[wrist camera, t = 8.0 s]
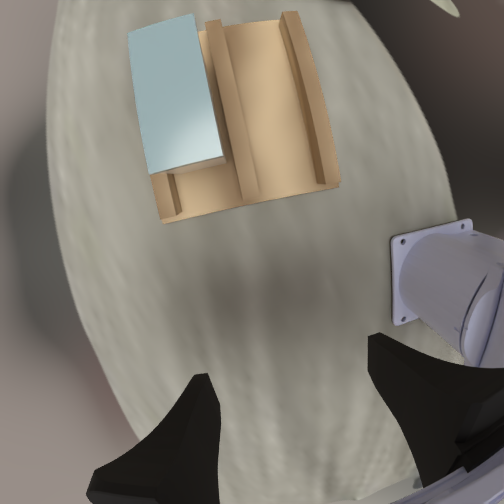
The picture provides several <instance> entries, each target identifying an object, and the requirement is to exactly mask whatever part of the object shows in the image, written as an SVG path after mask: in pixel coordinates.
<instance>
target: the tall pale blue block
mask: <svg viewBox="0 0 504 504" xmlns="http://www.w3.org/2000/svg"><path fill="white" fill-rule="evenodd" d="M127 34H128V45H129V55H130V63H131V72H132V80H133V87H134V94H135V101H136V107H137V113H138V119H139V125H140V131H141V136H142V142H143V147H144V152H145V157H146V162H147V167H148V172H149V175H155V174H158V173H165V174H184V173H188V172H192V171H196V170H200V169H204V168H209V167H213V166H217V165H222V164H226V163H227V161H226V156H225V152H224V147H223V142H222V138H221V133H220V128H219V123H218V119H217V114H216V109H215V104H214V100H213V95H212V90H211V85H210V81H209V76H208V71H207V66H206V63H205V59H204V55H203V51H202V48H201V44H200V40H199V36H198V31H197V26H196V21H195V17H194V13H193V14H188V15H184V16H180V17H177V18H173V19H169V20H166V21H162V22H159V23H156V24H152V25H149V26H146V27H143V28H140V29H137V30H135V31H132V32H129V33H127Z"/></svg>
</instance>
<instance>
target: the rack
mask: <svg viewBox="0 0 504 504" xmlns="http://www.w3.org/2000/svg"><path fill="white" fill-rule="evenodd" d="M205 26H206V30H205V31H200V32H198V36H199V40H200V44H201V48H202V51H203V55H204V59H205V63H206V66H207V71H208V76H209V81H210V85H211V90H212V95H213V100H214V104H215V109H216V114H217V119H218V123H219V128H220V133H221V138H222V142H223V147H224V152H225V156H226V161H227V163H226V164H222V165H217V166H213V167H209V168H204V169H200V170H196V171H192V172H188V173H184V174H165V173H158V174H155V175H150V177H151V181H152V186H153V190H154V195H155V199H156V203H157V207H158V211H159V215H160V219H162V222H163V224H166V223H170V222H174V221H178V220H182V219H187V218H191V217H195V216H199V215H204V214H208V213H212V212H217V211H221V210H226V209H230V208H235V207H239V206H244V205H249V204H253V203H258V202H263V201H268V200H273V199H278V198H283V197H288V196H293V195H298V194H304V193H309V192H315V191H320V190H326V189H331V188H337V187H339V185H338V182H341V178H340V172H339V166H338V161H337V156H336V151H335V146H334V141H333V136H332V131H331V127H330V122H329V118H328V114H327V109H326V105H325V101H324V97H323V93H322V89H321V86H320V82H319V78H318V75H317V71H316V67H315V64H314V61H313V57H312V54H311V51H310V47H309V44H308V41H307V38H306V35H305V32H304V29H303V26H302V23H301V20H300V17H299V14H298V11H286V12H282V15H281V18H280V20H270V21H260V22H252V23H244V24H237V25H231V26H225V27H222V23H221V19H219V20H213V21H208V22H205Z"/></svg>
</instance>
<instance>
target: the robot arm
mask: <svg viewBox="0 0 504 504" xmlns="http://www.w3.org/2000/svg"><path fill="white" fill-rule="evenodd" d="M461 225H462V227H461ZM402 239H403V243H402V244H401V243H400V242H401V240H402ZM391 258H392V286H393V317H392V321H393V323H394V324H395V325H396V326H398V325H401V324H404V323H407V322H410V321H412V320H415V319H418V318H420V319H421V320H422V321H424V322H425V323H426V324H427V325H428V326H429V327H431V328H432V329H433V330H434V331H435V332H436V333H437V334H438V335H440V336H441V337H442V338H443V339H444V340H445V341H446V342H447V343H449V344H450V345H451V346H452V347H453V348H454V349H455V350H456V351H457V352H458V353H459V354H461V355H462V356H463V357H464V365H459V364H455V363H450V362H447V361H443V360H440V359H437V358H434V357H431V356H429V355H426V354H424V353H421V352H419V351H417V350H415V349H412V348H410V347H408V346H406V345H404V344H402V343H400V342H398V341H396V340H394V339H392V338H390V337H388V336H386V335H384V334H382V333H380V332H379V333H376V334H373V335H370V336H368V372H369V375H370V377H371V379H372V381H373V383H374V385H375V387H376V389H377V391H378V392H379V394H380V395H381V397H382V398H383V400H384V401H385V403H386V405H387V406H388V408H389V409H390V411H391V412H392V414H393V415H394V417H395V418H396V420H397V422H398V424H399V425H400V427H401V429H402V432H403V434H404V436H405V438H406V440H407V443H408V445H409V448H410V450H411V452H412V455H413V457H414V460H415V463H416V466H417V469H418V472H419V475H420V478H421V481H422V485H423V489H421V490H419V491H417V492H415V493H413V494H411V495H409V496H407V497H404V498H402V499H400V500H397V501H395V502H393V503H390V504H497V503H498V502H499V501H501V500H502V499H503V498H504V240H501V239H498V238H496V237H493V236H490V235H487V234H484V233H480V232H477V231H474V230H473V224H472V220H471V219H463V220H459V221H455V222H451V223H447V224H443V225H439V226H435V227H431V228H427V229H423V230H418V231H414V232H410V233H406V234H402V235H397V236H394V237H393V238H392V240H391ZM403 317H404V318H403ZM402 318H403V319H402ZM401 319H402V320H401ZM220 430H221V412H220V403H219V401H218V398H217V396H216V393H215V391H214V388H213V386H212V383H211V381H210V378H209V375H208V373H204V374H196V375H194V376H193V377H192V379H191V380H190V382H189V384H188V385H187V387H186V388H185V390H184V391H183V393H182V394H181V396H180V397H179V399H178V400H177V402H176V403H175V404H174V406H173V407H172V409H171V410H170V411H169V412H168V414H167V415H166V416H165V418H164V419H163V420H162V421H161V422H160V423H159V425H158V426H157V427H156V428H155V429H154V430H153V431H152V432H151V433H150V434H149V435H148V436H147V437H145V438H144V439H143V440H142V441H141V442H139V443H138V444H137V445H136V446H135V447H133V448H132V449H131V450H129V451H128V452H126V453H125V454H123V455H122V456H120V457H119V458H117V459H115V460H114V461H112V462H110V463H108V464H106V465H104V466H102V467H100V468H98V469H96V470H95V471H94V473H93V476H92V478H91V481H90V484H89V487H88V489H87V492H86V496H87V497H88V499H89V501H90V502H92V503H93V504H220V501H219V488H218V454H219V442H220Z"/></svg>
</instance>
